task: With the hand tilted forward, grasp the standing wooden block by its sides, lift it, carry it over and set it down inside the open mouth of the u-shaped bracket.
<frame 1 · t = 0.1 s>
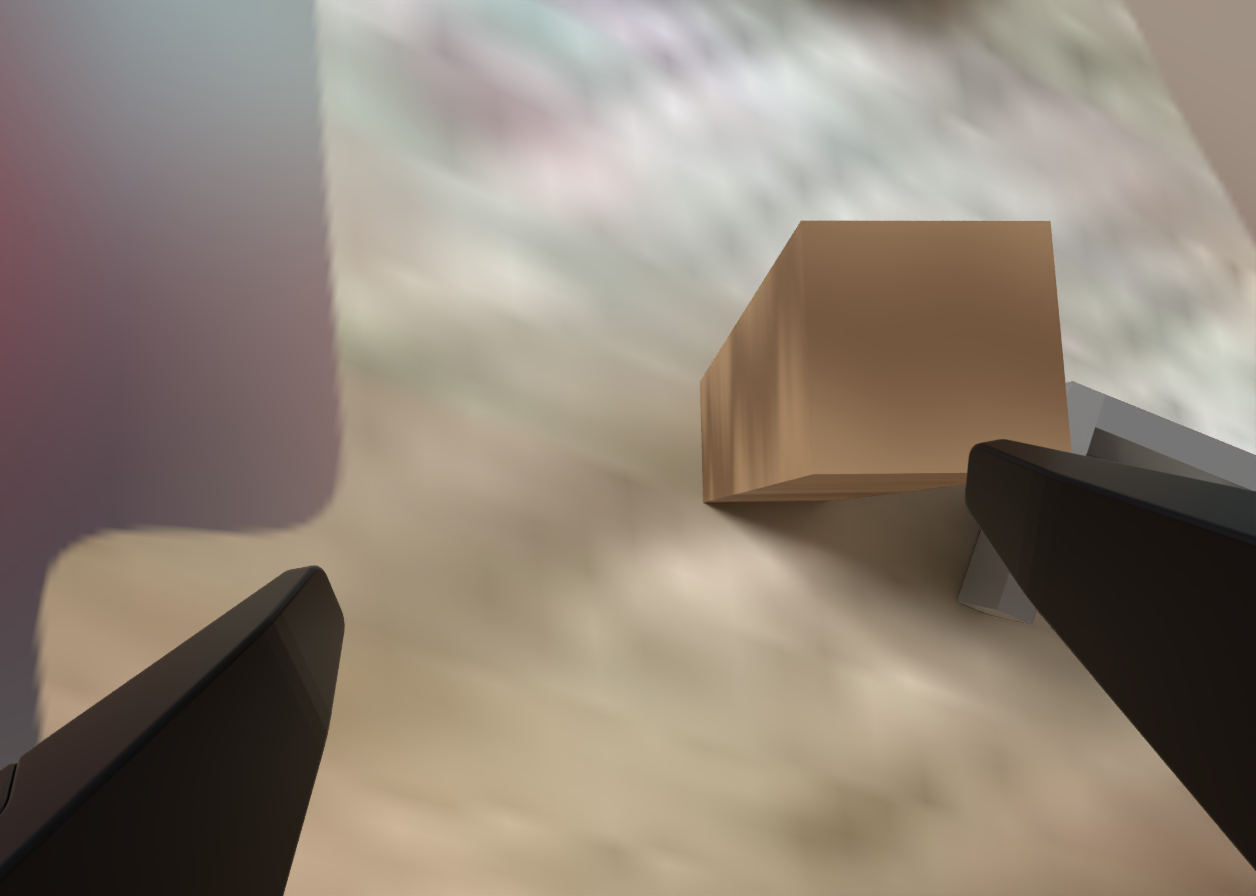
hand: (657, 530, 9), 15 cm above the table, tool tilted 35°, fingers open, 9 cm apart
wooden block: (762, 440, 24), on the table
u-shaped bracket: (1106, 560, 24), on the table
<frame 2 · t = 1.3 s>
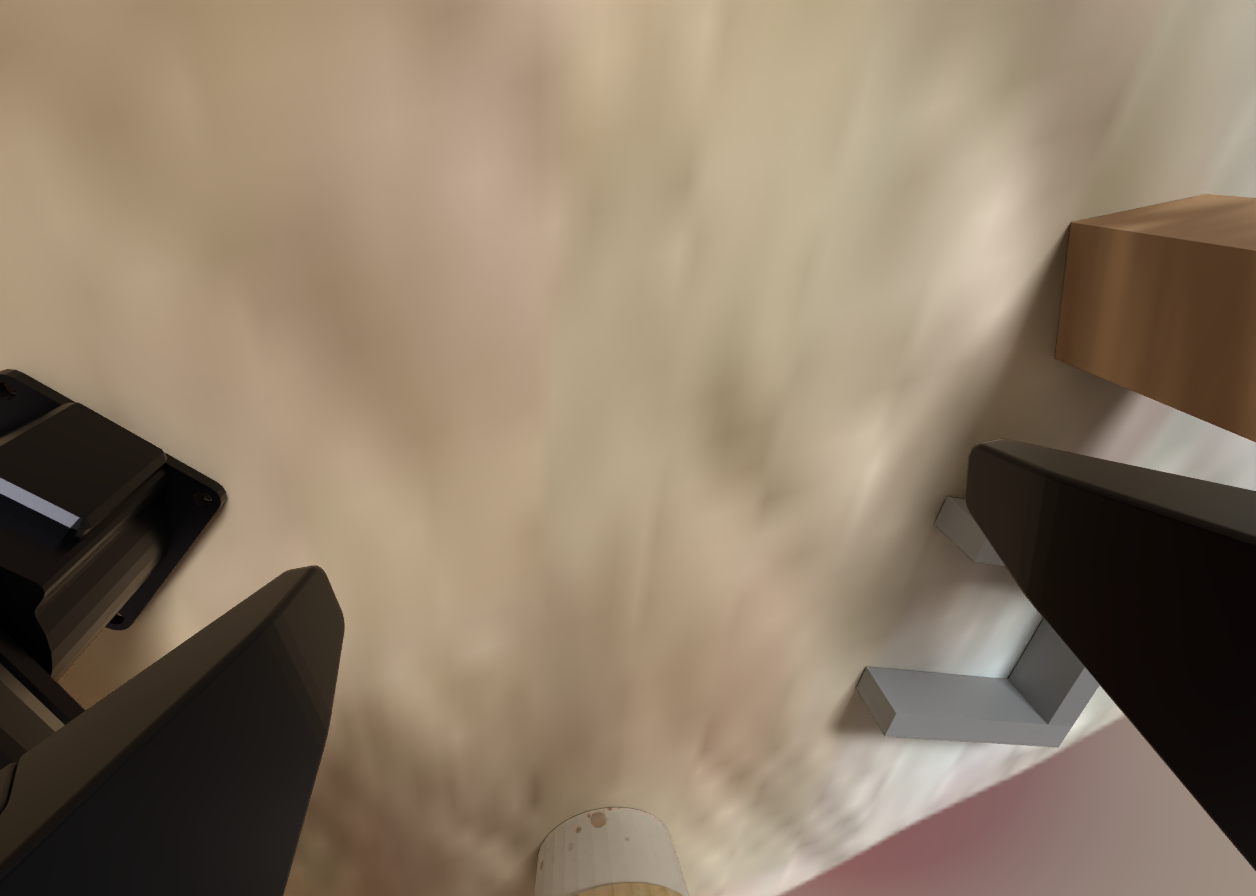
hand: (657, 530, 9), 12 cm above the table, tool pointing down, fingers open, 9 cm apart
coffee cup: (605, 849, 31), on the table
wooden block: (1127, 279, 22), on the table
u-shaped bracket: (973, 607, 27), on the table
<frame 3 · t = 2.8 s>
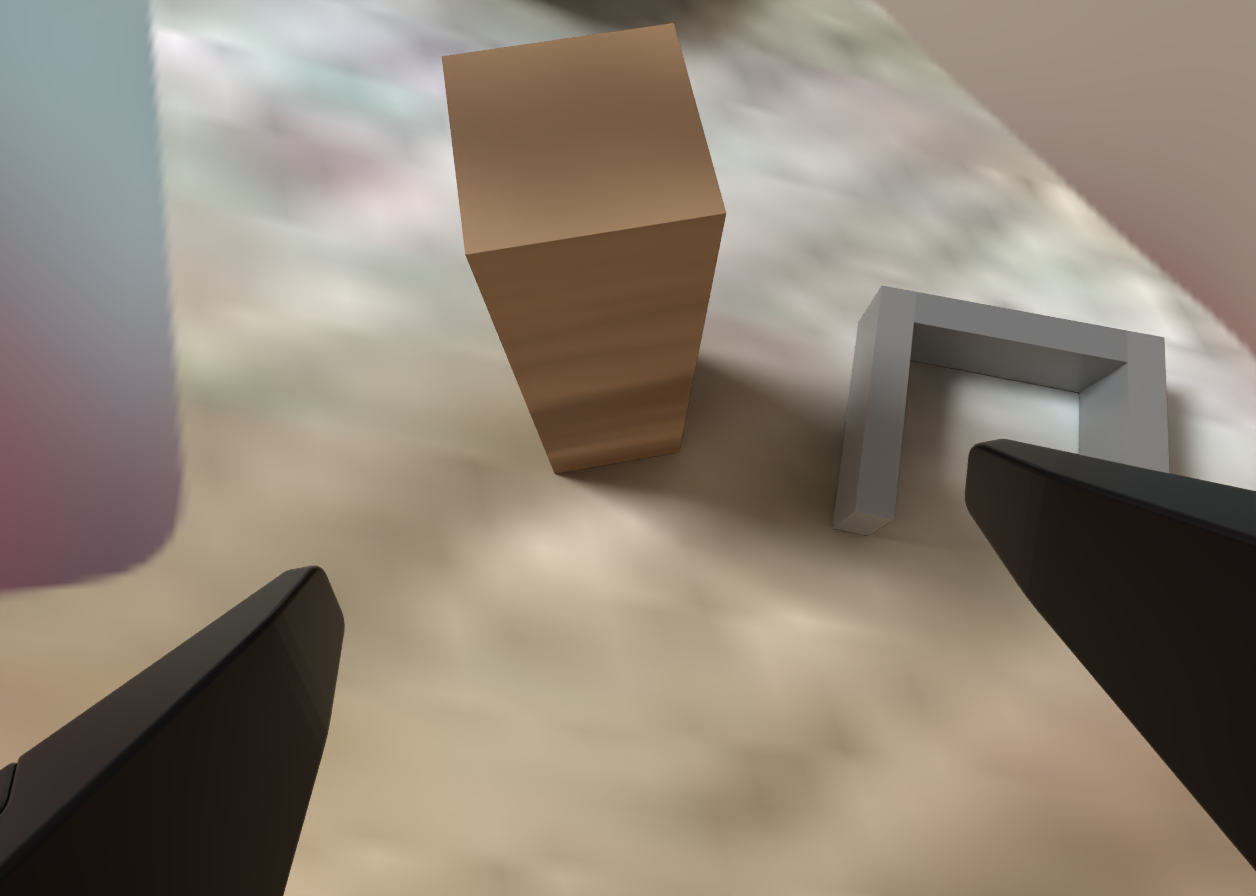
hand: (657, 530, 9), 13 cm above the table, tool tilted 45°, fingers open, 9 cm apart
wooden block: (606, 405, 24), on the table
u-shaped bracket: (977, 461, 23), on the table
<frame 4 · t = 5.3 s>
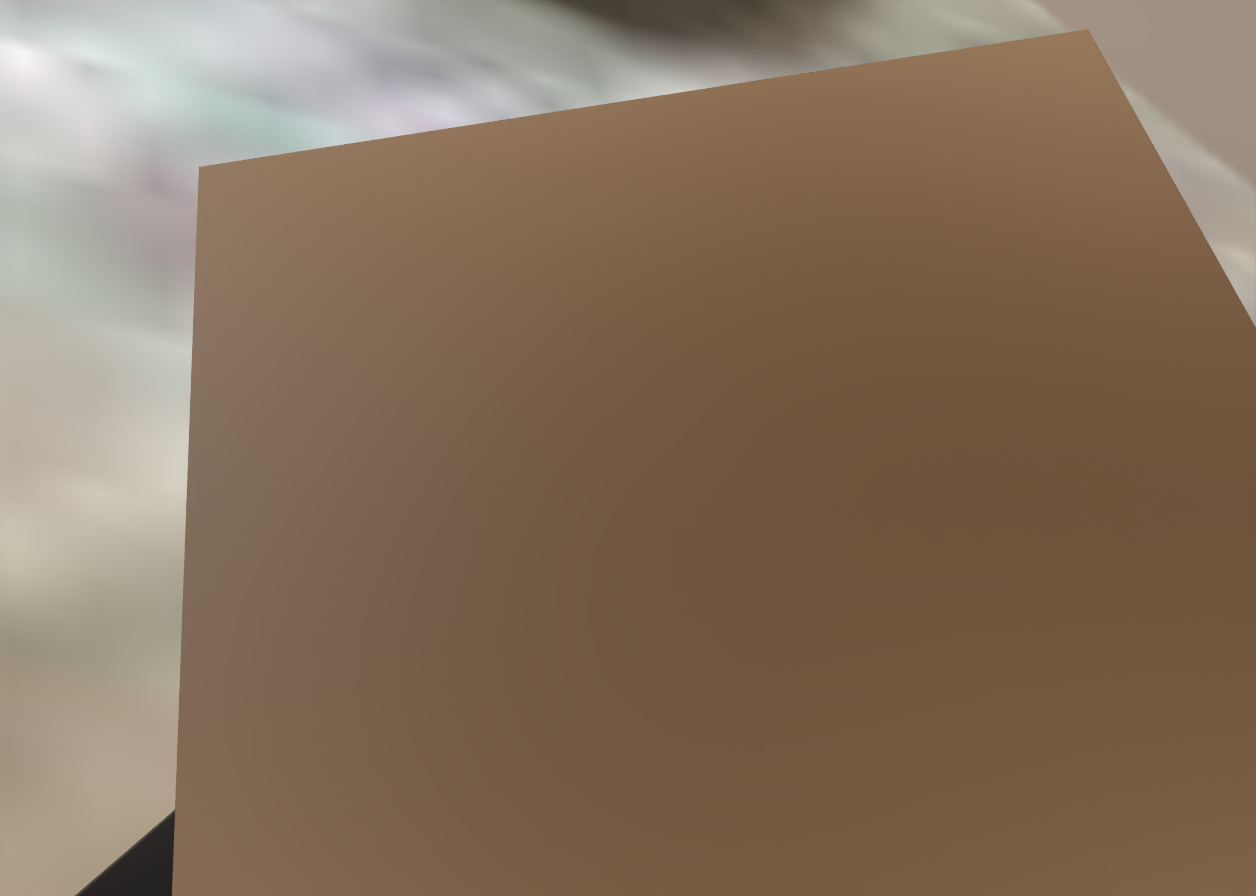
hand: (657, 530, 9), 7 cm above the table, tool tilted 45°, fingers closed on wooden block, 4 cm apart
wooden block: (661, 651, 15), on the table, touching gripper
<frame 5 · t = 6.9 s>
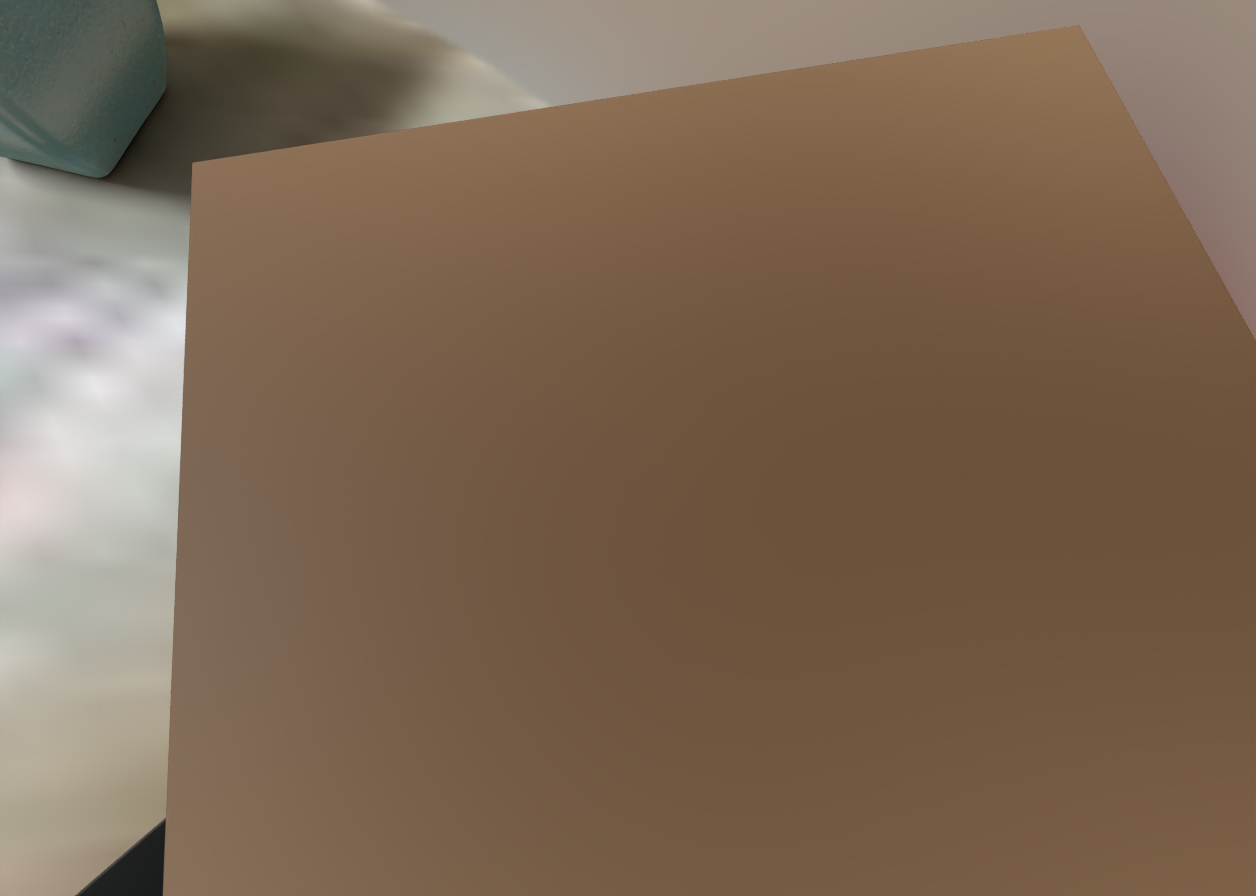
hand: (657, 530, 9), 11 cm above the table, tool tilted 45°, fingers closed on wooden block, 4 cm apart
flower pot: (91, 123, 27), on the table
wooden block: (659, 650, 15), point 5 cm above the table, touching gripper
when the fingers open (7 cm above the table, at t = 8.6 s): wooden block stays where it is, on the table.
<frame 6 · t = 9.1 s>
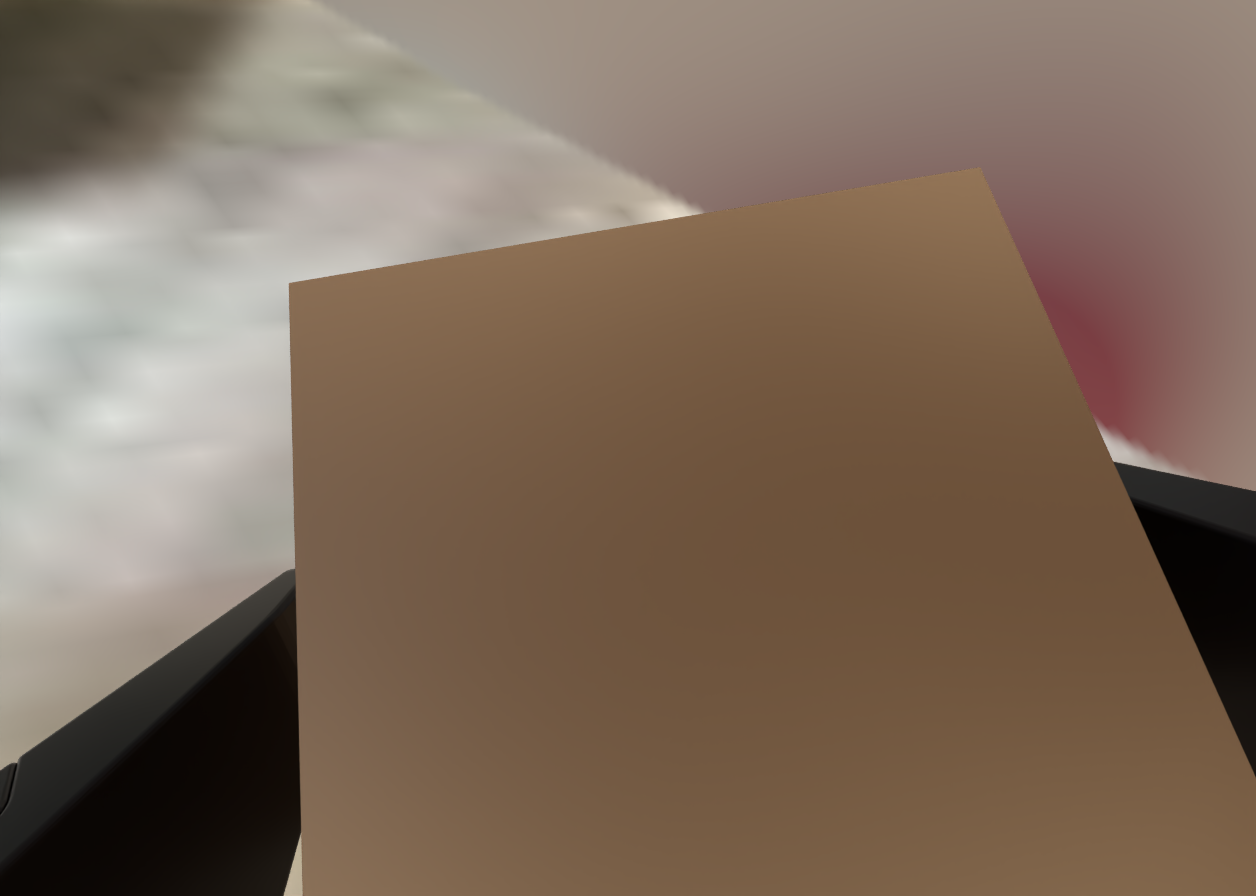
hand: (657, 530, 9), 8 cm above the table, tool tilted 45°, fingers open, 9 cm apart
wooden block: (657, 651, 16), on the table
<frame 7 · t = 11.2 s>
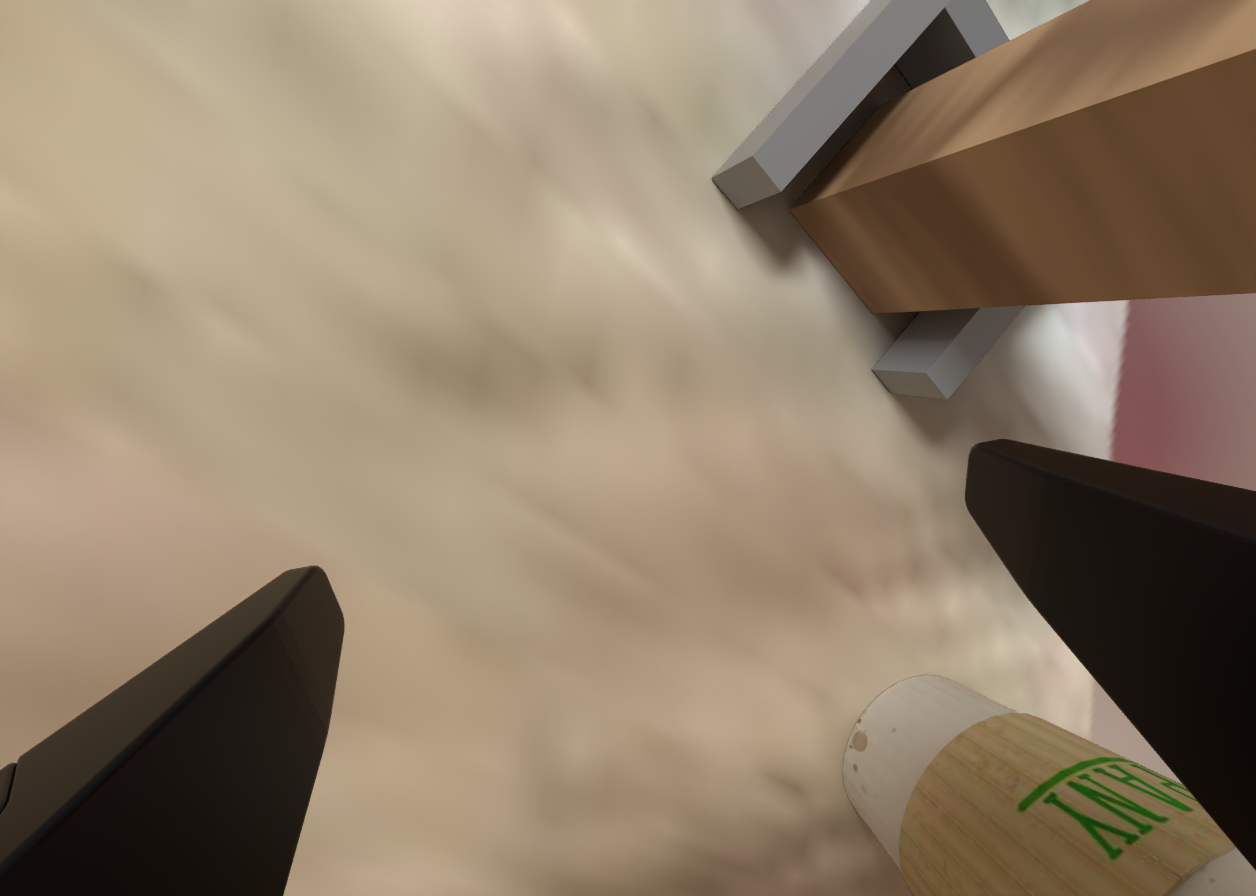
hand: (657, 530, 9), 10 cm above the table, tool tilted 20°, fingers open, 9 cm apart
coffee cup: (908, 747, 25), on the table
wooden block: (876, 212, 21), on the table
u-shaped bracket: (877, 213, 21), on the table
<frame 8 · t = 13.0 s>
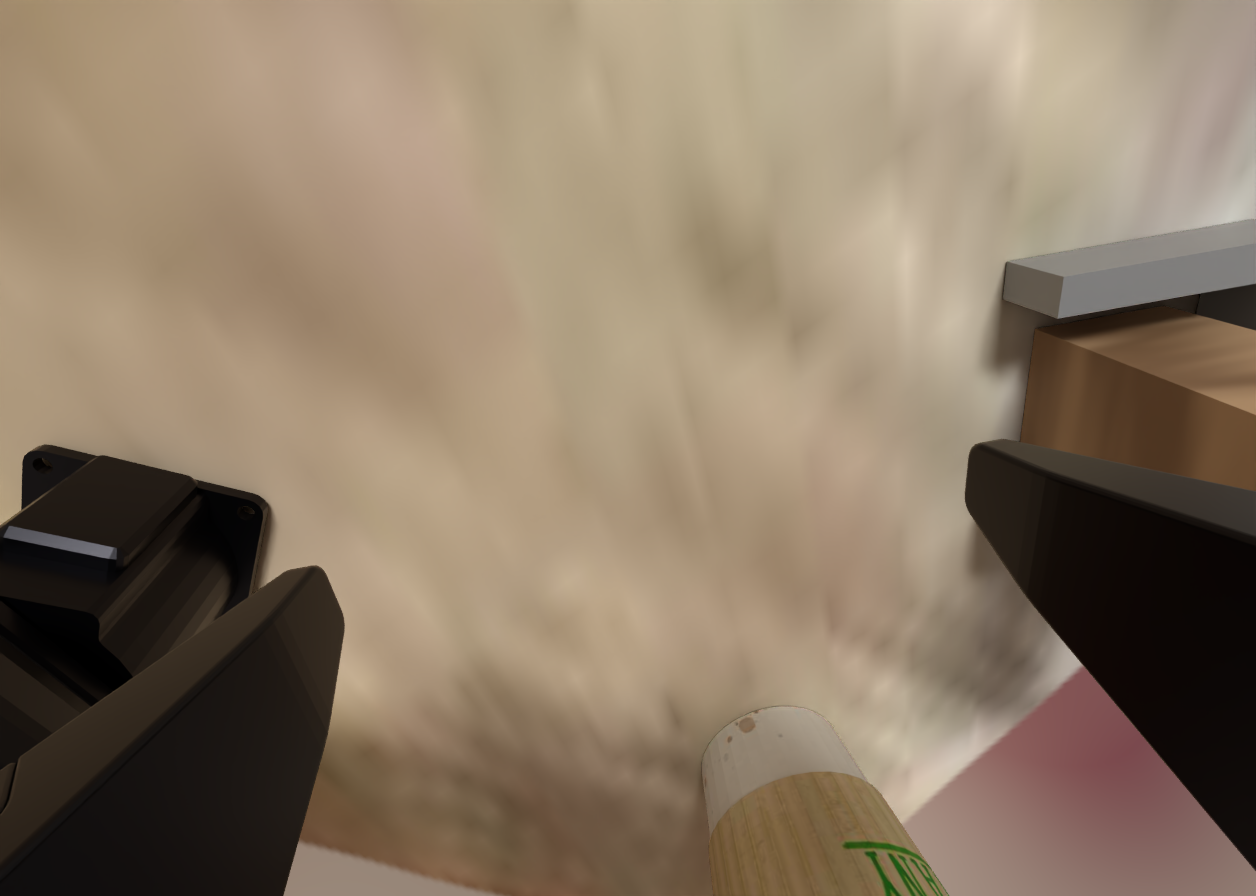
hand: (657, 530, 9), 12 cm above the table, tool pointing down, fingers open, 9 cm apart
coffee cup: (768, 754, 29), on the table
wooden block: (1088, 380, 23), on the table
u-shaped bracket: (1088, 381, 23), on the table
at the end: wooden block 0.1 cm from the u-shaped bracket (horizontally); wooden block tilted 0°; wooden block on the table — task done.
